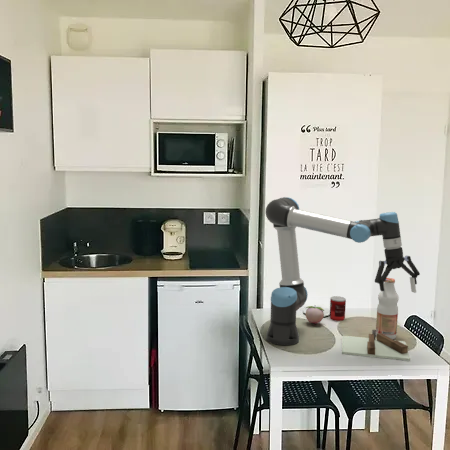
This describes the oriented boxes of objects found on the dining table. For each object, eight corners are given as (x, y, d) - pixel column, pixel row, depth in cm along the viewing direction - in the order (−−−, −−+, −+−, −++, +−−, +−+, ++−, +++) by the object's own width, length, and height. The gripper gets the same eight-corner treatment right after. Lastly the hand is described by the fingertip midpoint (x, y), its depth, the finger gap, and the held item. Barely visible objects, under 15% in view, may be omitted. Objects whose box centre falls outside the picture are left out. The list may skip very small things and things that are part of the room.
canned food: (334, 315, 275) (335, 295, 274) (347, 318, 270) (348, 298, 268) (326, 318, 270) (327, 298, 268) (339, 322, 264) (340, 301, 263)
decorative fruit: (304, 326, 258) (305, 307, 256) (304, 321, 266) (305, 302, 264) (324, 327, 256) (324, 308, 255) (323, 322, 264) (324, 303, 263)
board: (341, 353, 224) (342, 351, 224) (342, 337, 243) (342, 335, 243) (410, 360, 218) (410, 358, 218) (405, 343, 237) (405, 341, 237)
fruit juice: (371, 334, 247) (374, 277, 243) (385, 331, 252) (389, 275, 248) (385, 341, 239) (389, 282, 235) (400, 338, 244) (404, 280, 239)
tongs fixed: (367, 354, 222) (368, 344, 221) (366, 337, 240) (366, 328, 240) (377, 355, 221) (378, 345, 220) (375, 338, 240) (375, 329, 239)
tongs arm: (401, 353, 222) (402, 347, 221) (376, 339, 238) (376, 333, 237) (407, 352, 223) (407, 346, 223) (381, 339, 239) (382, 332, 238)
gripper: (370, 253, 221) (377, 302, 222) (423, 243, 224) (430, 291, 226) (362, 251, 228) (369, 298, 229) (414, 241, 232) (421, 288, 233)
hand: (399, 295), depth 228 cm, fingers open, 13 cm apart
